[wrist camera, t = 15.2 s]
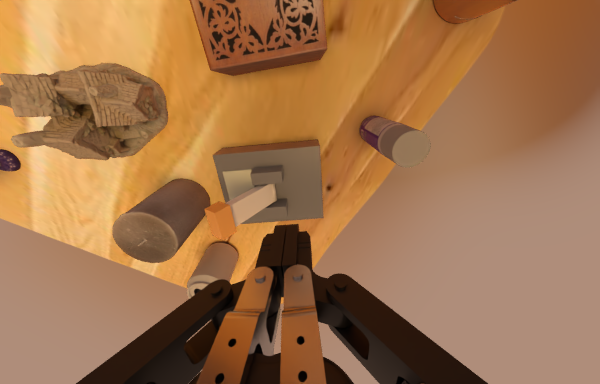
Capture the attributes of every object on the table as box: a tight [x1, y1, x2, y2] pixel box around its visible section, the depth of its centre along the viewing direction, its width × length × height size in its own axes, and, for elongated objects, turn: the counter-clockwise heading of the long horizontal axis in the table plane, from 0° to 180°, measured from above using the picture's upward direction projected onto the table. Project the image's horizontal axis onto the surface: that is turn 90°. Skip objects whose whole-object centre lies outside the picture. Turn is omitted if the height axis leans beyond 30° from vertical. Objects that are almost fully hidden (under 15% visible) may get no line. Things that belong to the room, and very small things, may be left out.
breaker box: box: [213, 140, 323, 224], centre depth 39 cm, size 14×18×8 cm
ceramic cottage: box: [0, 63, 168, 160], centre depth 31 cm, size 16×16×15 cm
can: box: [187, 243, 238, 299], centre depth 46 cm, size 8×8×12 cm
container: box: [359, 116, 430, 167], centre depth 32 cm, size 5×5×15 cm
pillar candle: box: [113, 179, 210, 263], centre depth 38 cm, size 10×10×15 cm
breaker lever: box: [204, 184, 277, 240], centre depth 33 cm, size 4×2×12 cm
